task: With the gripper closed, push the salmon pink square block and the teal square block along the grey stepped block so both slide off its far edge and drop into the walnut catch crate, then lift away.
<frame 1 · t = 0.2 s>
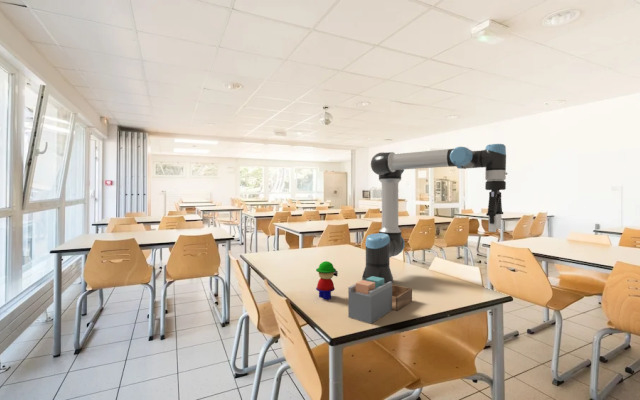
hand: (495, 230, 130), 28 cm above the table, fingers open, 13 cm apart
salmon pink square block: (365, 291, 106), point 9 cm above the table, touching grey stepped block
teal square block: (375, 286, 112), point 9 cm above the table, touching grey stepped block
grey stepped block: (370, 313, 110), on the table
catch crate: (389, 302, 121), on the table
toy: (326, 297, 128), on the table
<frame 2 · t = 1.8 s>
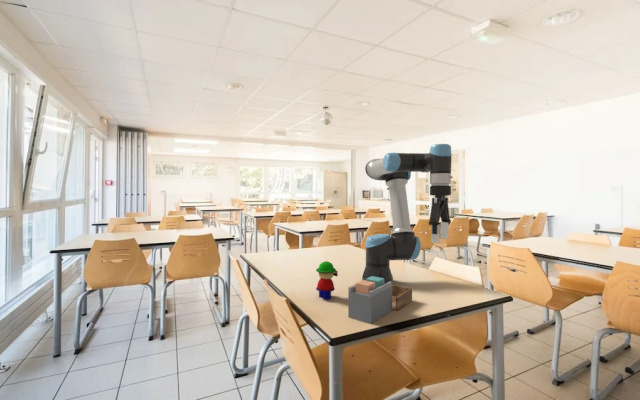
hand: (440, 240, 116), 25 cm above the table, fingers open, 13 cm apart
nothing on the table moved.
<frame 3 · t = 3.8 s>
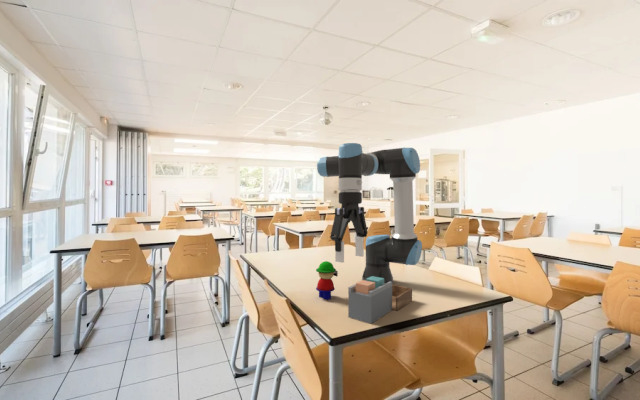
hand: (350, 258, 99), 22 cm above the table, fingers open, 11 cm apart
nothing on the table moved.
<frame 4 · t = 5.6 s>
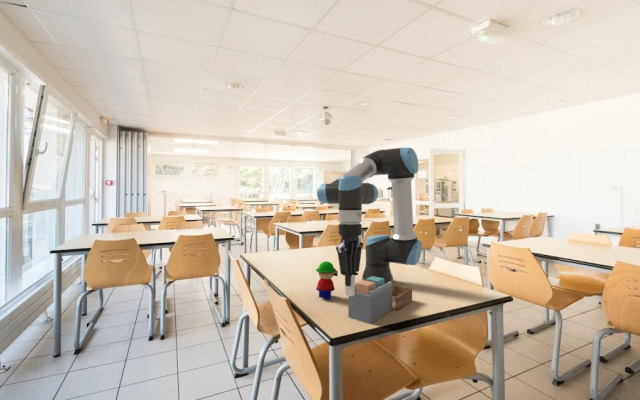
hand: (350, 295, 99), 10 cm above the table, fingers closed
nothing on the table moved.
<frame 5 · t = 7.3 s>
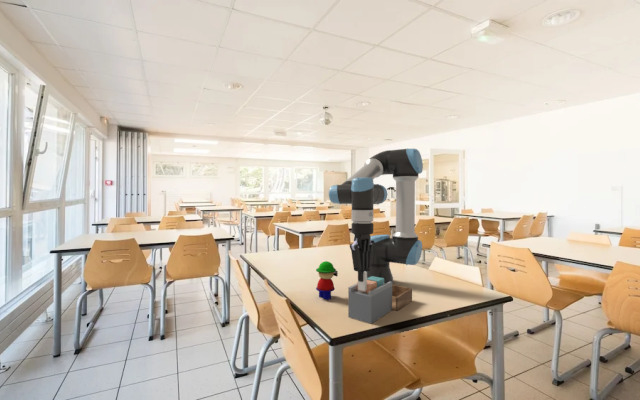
hand: (362, 289, 105), 10 cm above the table, fingers closed
salmon pink square block: (367, 290, 107), point 9 cm above the table, touching gripper
everything else where it was.
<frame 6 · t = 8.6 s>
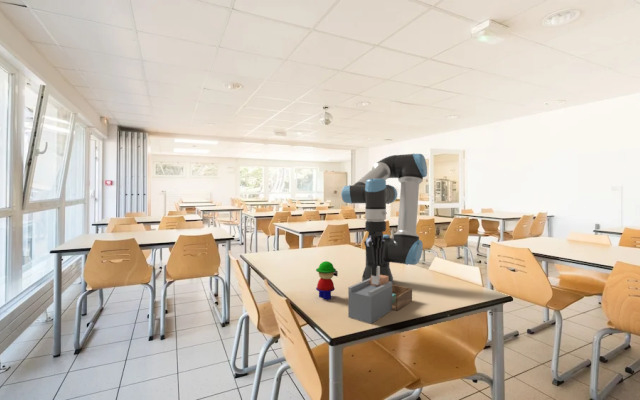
hand: (375, 283, 112), 10 cm above the table, fingers closed
salmon pink square block: (379, 284, 115), point 9 cm above the table, touching gripper
teal square block: (387, 294, 120), point 3 cm above the table, tilted 180°, touching catch crate
everything else where it was.
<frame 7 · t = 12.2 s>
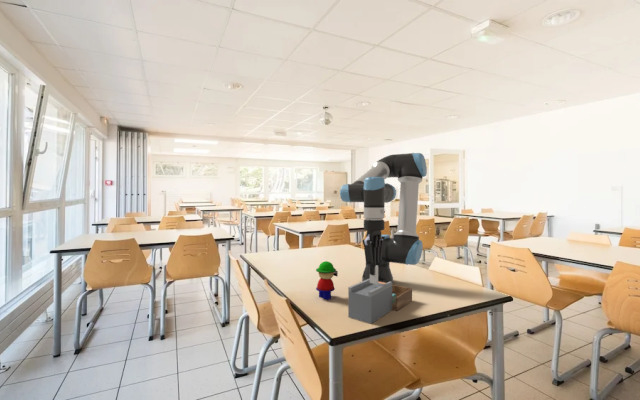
hand: (373, 283, 111), 11 cm above the table, fingers closed
salmon pink square block: (381, 292, 117), point 5 cm above the table, tilted 73°, touching grey stepped block, teal square block
teal square block: (387, 294, 120), point 3 cm above the table, tilted 180°, touching catch crate, salmon pink square block
everything else where it was.
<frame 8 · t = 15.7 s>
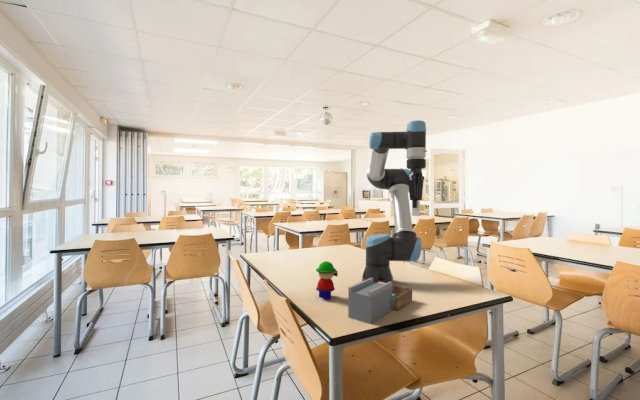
hand: (415, 215, 126), 34 cm above the table, fingers closed
nothing on the table moved.
at the end: salmon pink square block inside the target area (6.3 cm from its centre), point 5.5 cm above the table; teal square block inside the target area (1.7 cm from its centre), point 3.5 cm above the table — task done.
